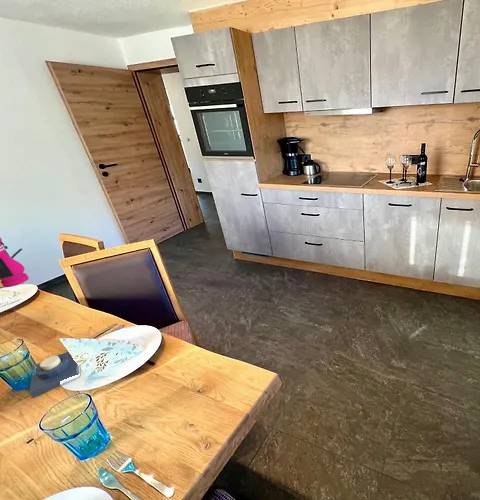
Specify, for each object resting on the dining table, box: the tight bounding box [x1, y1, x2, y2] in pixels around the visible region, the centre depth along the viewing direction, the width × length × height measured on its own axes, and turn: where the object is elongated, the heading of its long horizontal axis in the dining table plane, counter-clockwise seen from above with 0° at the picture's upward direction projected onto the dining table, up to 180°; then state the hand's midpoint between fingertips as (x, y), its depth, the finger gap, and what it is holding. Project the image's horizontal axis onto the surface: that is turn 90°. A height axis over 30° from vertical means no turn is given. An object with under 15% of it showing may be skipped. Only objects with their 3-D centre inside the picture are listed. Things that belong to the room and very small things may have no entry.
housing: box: [28, 351, 79, 398], centre depth 85 cm, size 12×10×4 cm
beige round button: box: [39, 355, 61, 371], centre depth 83 cm, size 4×4×2 cm
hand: (9, 272), depth 97 cm, fingers closed on pepper mill, 7 cm apart
